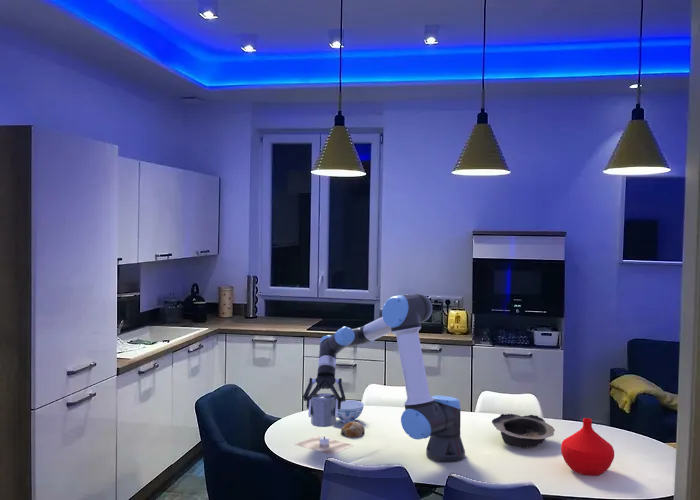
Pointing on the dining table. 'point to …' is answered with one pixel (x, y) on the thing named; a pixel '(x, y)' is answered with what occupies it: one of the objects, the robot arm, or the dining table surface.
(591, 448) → the vase
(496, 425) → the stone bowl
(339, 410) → the chinaware
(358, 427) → the bread roll
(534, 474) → the dining table surface
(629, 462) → the dining table surface
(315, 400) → the steel tin
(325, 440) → the candle
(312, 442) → the striped cloth
